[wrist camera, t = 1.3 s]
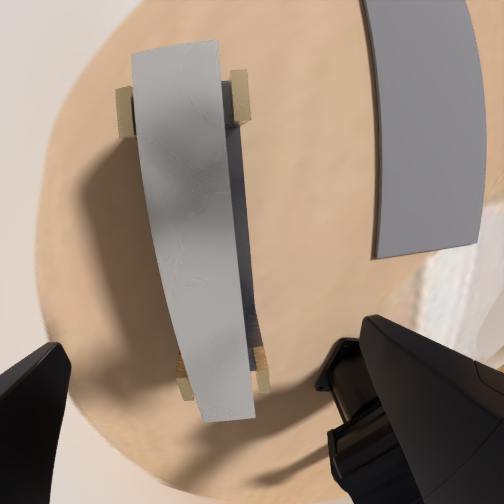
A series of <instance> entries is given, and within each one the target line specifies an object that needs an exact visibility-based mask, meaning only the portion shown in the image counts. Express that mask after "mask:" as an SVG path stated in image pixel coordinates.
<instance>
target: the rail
mask: <svg viewBox="0 0 504 504" xmlns="http://www.w3.org/2000/svg"><path fill="white" fill-rule="evenodd" d="M132 79H133V96H134V110H135V121H136V132H137V141H138V150H139V158H140V166H141V173H142V180H143V187H144V193H145V200H146V206H147V211H148V217H149V223H150V228H151V233H152V239H153V244H154V248H155V253H156V258H157V263H158V267H159V272H160V276H161V280H162V285H163V289H164V293H165V297H166V301H167V305H168V309H169V313H170V317H171V320H172V324H173V328H174V331H175V335H176V338H177V342H178V345H179V349H180V352H181V356H182V359H183V362H184V365H185V369H186V372H187V375H188V378H189V381H190V384H191V387H192V390H193V393H194V396H195V399H196V402H197V405H198V407H199V410H200V413H201V416H202V419H203V421H204V422H218V421H230V420H240V419H249V418H256V416H255V408H254V400H253V392H252V383H251V375H250V367H249V359H248V350H247V342H246V333H245V324H244V315H243V306H242V297H241V288H240V279H239V270H238V260H237V250H236V241H235V231H234V221H233V211H232V201H231V190H230V180H229V169H228V158H227V147H226V136H225V124H224V112H223V100H222V88H221V75H220V62H219V49H218V40H211V41H201V42H193V43H186V44H179V45H173V46H167V47H162V48H156V49H151V50H147V51H142V52H138V53H134V54H132Z"/></svg>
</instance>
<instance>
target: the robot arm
mask: <svg viewBox="0 0 504 504" xmlns="http://www.w3.org/2000/svg"><path fill="white" fill-rule="evenodd" d="M345 343H346V344H345ZM70 375H71V362H70V360H69V358H68V356H67V354H66V353H65V351H64V349H63V346H62V345H61V344H60V343H59V342H48V343H46V344H45V345H43V346H42V347H40V348H39V349H37V350H36V351H34V352H33V353H31V354H30V355H28V356H27V357H25V358H24V359H22V360H21V361H19V362H18V363H16V364H15V365H14V366H12V367H11V368H9V369H8V370H6V371H5V372H4V373H2V374H1V375H0V504H49V503H50V493H51V483H52V476H53V469H54V462H55V456H56V450H57V445H58V439H59V435H60V430H61V425H62V421H63V416H64V411H65V406H66V399H67V393H68V386H69V380H70ZM315 388H316V390H317V391H331V394H332V396H333V399H334V401H335V403H336V406H337V408H338V411H339V413H340V416H341V418H342V421H343V423H344V424H342V425H340V426H339V427H337V428H335V429H332V430H330V431H328V432H327V436H328V448H329V457H330V465H331V473H332V476H333V479H334V481H335V482H337V483H338V484H339V486H340V487H341V488H342V489H343V490H344V491H346V492H347V493H348V494H349V495H350V497H351V498H352V501H353V503H354V504H504V373H503V372H500V371H498V370H495V369H493V368H491V367H488V366H486V365H484V364H482V363H480V362H478V361H476V360H474V361H473V359H471V358H469V357H467V356H465V355H463V354H460V353H458V352H456V351H454V350H452V349H450V348H448V347H446V346H443V345H441V344H439V343H437V342H435V341H433V340H431V339H429V338H426V337H424V336H422V335H420V334H418V333H416V332H414V331H412V330H409V329H407V328H405V327H403V326H401V325H399V324H397V323H395V322H392V321H390V320H388V319H386V318H384V317H382V316H380V315H377V314H375V315H370V316H366V317H364V319H363V321H362V326H361V332H360V337H359V339H358V338H343V339H342V340H341V341H340V342H339V344H338V346H337V348H336V349H335V351H334V353H333V355H332V357H331V359H330V360H329V362H328V364H327V366H326V367H325V369H324V371H323V373H322V374H321V376H320V378H319V380H318V381H317V383H316V385H315Z"/></svg>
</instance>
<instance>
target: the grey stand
mask: <svg viewBox="0 0 504 504" xmlns="http://www.w3.org/2000/svg"><path fill="white" fill-rule="evenodd" d="M221 88H222V100H223V112H224V124H225V136H226V147H227V158H228V169H229V180H230V190H231V201H232V211H233V221H234V231H235V241H236V250H237V260H238V270H239V279H240V288H241V297H242V306H243V315H244V324H245V333H246V342H247V350H248V359H249V367H250V371H256V377H257V383H258V388H259V394H264V393H270V386H269V369H268V365H267V360H266V356H265V351H264V347H263V342H262V338H261V333H260V328H259V324H258V319H257V315H256V310H255V302H254V291H253V279H252V267H251V255H250V244H249V232H248V220H247V208H246V196H245V184H244V172H243V160H242V148H241V136H240V126H241V125H243V124H245V123H246V122H248V121H250V120H251V112H250V100H249V88H248V76H247V70H231V71H230V77H229V81H221ZM115 91H116V106H117V119H118V130H119V138H137V132H136V121H135V110H134V96H133V87H131V86H127V87H123V88H119V89H115ZM176 381H177V384H178V387H179V389H180V392H181V394H182V397H183V400H184V401H190V400H194V393H193V390H192V387H191V384H190V381H189V378H188V375H187V372H186V369H185V365H184V362H183V359H182V356H181V352H180V349H179V355H178V363H177V371H176Z"/></svg>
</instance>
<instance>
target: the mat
mask: <svg viewBox="0 0 504 504" xmlns="http://www.w3.org/2000/svg"><path fill="white" fill-rule="evenodd" d="M363 2H364V7H365V12H366V17H367V23H368V28H369V34H370V40H371V47H372V54H373V62H374V71H375V80H376V91H377V104H378V120H379V151H380V178H379V210H378V227H377V241H376V252H375V257H376V258H377V259H378V258H385V257H392V256H399V255H405V254H412V253H418V252H425V251H431V250H438V249H444V248H450V247H456V246H463V245H469V244H474V243H477V241H478V235H479V229H480V223H481V216H482V208H483V199H484V188H485V175H486V111H485V97H484V87H483V79H482V72H481V65H480V59H479V53H478V48H477V43H476V38H475V34H474V30H473V26H472V22H471V18H470V14H469V11H468V7H467V4H466V1H465V0H363Z"/></svg>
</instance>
